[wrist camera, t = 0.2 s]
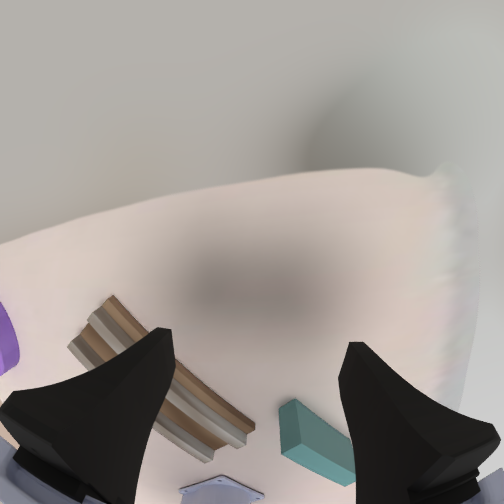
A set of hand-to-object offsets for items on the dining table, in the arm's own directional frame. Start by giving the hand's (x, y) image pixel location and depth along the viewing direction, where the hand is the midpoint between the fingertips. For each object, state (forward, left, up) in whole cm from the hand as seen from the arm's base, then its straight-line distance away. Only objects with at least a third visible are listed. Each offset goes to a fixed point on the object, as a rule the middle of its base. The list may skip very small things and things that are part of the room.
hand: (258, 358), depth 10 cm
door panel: (-6, -15, -11) cm, 20 cm away
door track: (-14, -1, -11) cm, 18 cm away
